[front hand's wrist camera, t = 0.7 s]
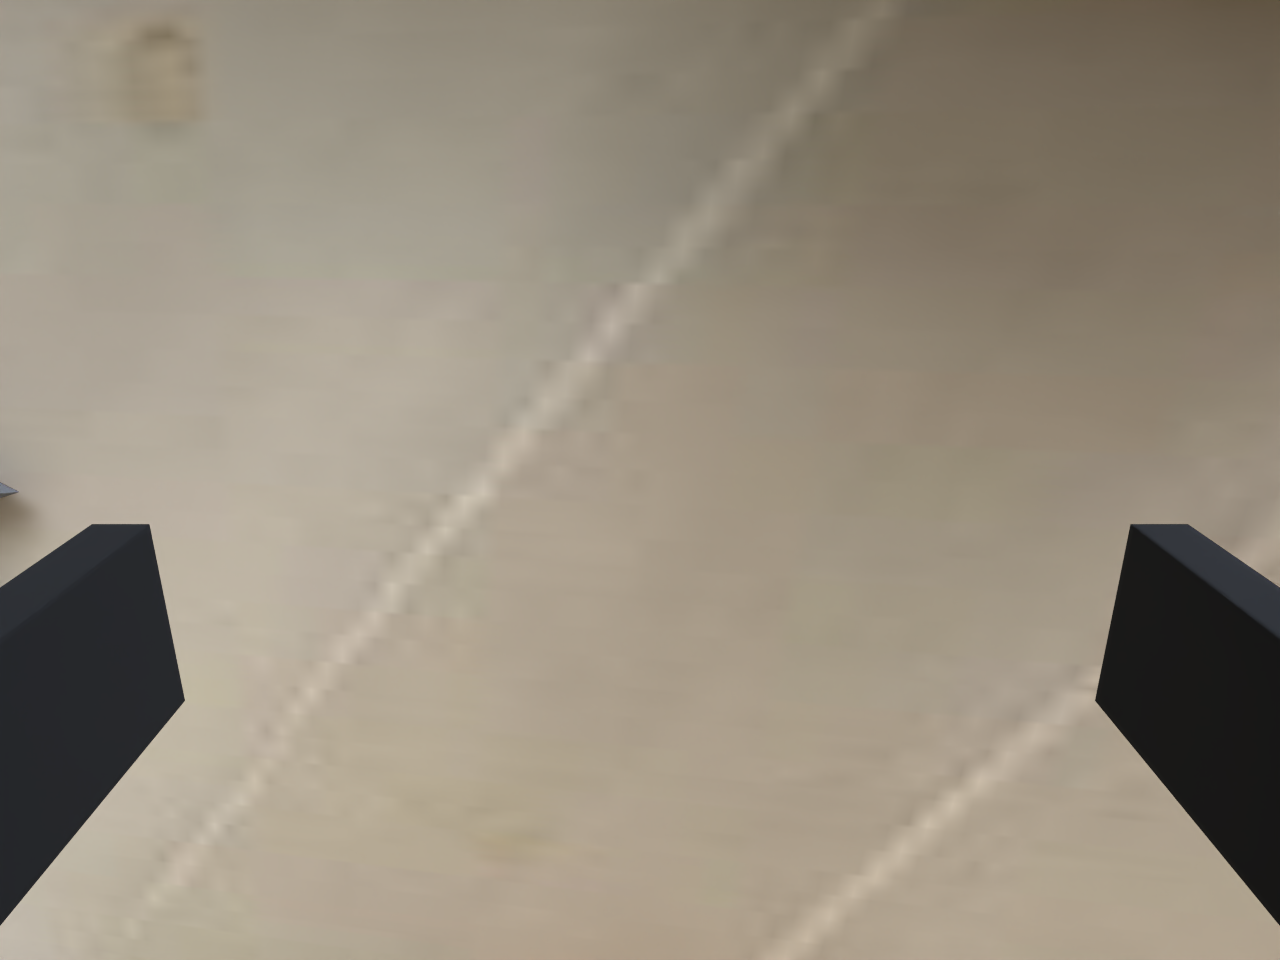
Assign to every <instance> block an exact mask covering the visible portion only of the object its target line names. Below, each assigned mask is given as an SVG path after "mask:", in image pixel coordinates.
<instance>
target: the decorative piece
mask: <svg viewBox="0 0 1280 960" xmlns="http://www.w3.org/2000/svg"><path fill="white" fill-rule="evenodd" d="M17 492H18V491H16V490H14V489H12V488H10V487H8V486H6V485H4V484H2V483H0V498H1V497H5V496H8V495H11V494H14V493H17Z"/></svg>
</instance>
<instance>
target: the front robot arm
mask: <svg viewBox="0 0 1280 960" xmlns="http://www.w3.org/2000/svg"><path fill="white" fill-rule="evenodd" d="M184 701H185V699H184V694H183V689H182V684H181V679H180V674H179V669H178V664H177V659H176V654H175V649H174V644H173V639H172V634H171V629H170V625H169V620H168V615H167V610H166V605H165V600H164V595H163V590H162V585H161V580H160V575H159V570H158V565H157V560H156V555H155V550H154V545H153V540H152V535H151V530H150V525H149V524H92V525H90V526H89V527H87V528H86V529H85V530H83V531H82V532H80V533H79V534H77V535H76V536H74V537H73V538H72V539H70V540H69V541H67V542H66V543H64V544H63V545H61V546H60V547H58V548H57V549H56V550H54V551H53V552H51V553H50V554H48V555H47V556H45V557H44V558H43V559H41V560H40V561H38V562H37V563H35V564H34V565H32V566H31V567H29V568H28V569H27V570H25V571H24V572H22V573H21V574H19V575H18V576H16V577H15V578H14V579H12V580H11V581H9V582H8V583H6V584H5V585H3V586H2V587H1V588H0V925H1V924H2V923H3V922H4V920H5V919H6V918H7V917H8V915H9V914H10V913H11V912H12V911H13V909H14V908H15V907H16V906H17V904H18V903H19V902H20V901H21V900H22V898H23V897H24V896H25V895H26V894H27V892H28V891H29V890H30V889H31V887H32V886H33V885H34V884H35V883H36V881H37V880H38V879H39V878H40V876H41V875H42V874H43V873H44V872H45V870H46V869H47V868H48V867H49V866H50V864H51V863H52V862H53V861H54V859H55V858H56V857H57V856H58V855H59V853H60V852H61V851H62V850H63V848H64V847H65V846H66V845H67V844H68V842H69V841H70V840H71V839H72V837H73V836H74V835H75V834H76V833H77V831H78V830H79V829H80V828H81V827H82V825H83V824H84V823H85V822H86V820H87V819H88V818H89V817H90V816H91V814H92V813H93V812H94V811H95V809H96V808H97V807H98V806H99V805H100V803H101V802H102V801H103V800H104V799H105V797H106V796H107V795H108V794H109V792H110V791H111V790H112V789H113V788H114V786H115V785H116V784H117V783H118V781H119V780H120V779H121V778H122V777H123V775H124V774H125V773H126V772H127V770H128V769H129V768H130V767H131V766H132V764H133V763H134V762H135V761H136V760H137V758H138V757H139V756H140V755H141V753H142V752H143V751H144V750H145V749H146V747H147V746H148V745H149V744H150V742H151V741H152V740H153V739H154V738H155V736H156V735H157V734H158V733H159V731H160V730H161V729H162V728H163V727H164V725H165V724H166V723H167V722H168V721H169V719H170V718H171V717H172V716H173V714H174V713H175V712H176V711H177V710H178V708H179V707H180V706H181V705H182V703H183V702H184ZM1095 701H1096V702H1097V703H1098V705H1099V706H1100V707H1101V708H1102V710H1103V711H1104V712H1105V713H1106V714H1107V716H1108V717H1109V718H1110V719H1111V721H1112V722H1113V723H1114V724H1115V725H1116V727H1117V728H1118V729H1119V730H1120V732H1121V733H1122V734H1123V735H1124V736H1125V738H1126V739H1127V740H1128V741H1129V742H1130V744H1131V745H1132V746H1133V747H1134V749H1135V750H1136V751H1137V752H1138V753H1139V755H1140V756H1141V757H1142V758H1143V760H1144V761H1145V762H1146V763H1147V764H1148V766H1149V767H1150V768H1151V769H1152V770H1153V772H1154V773H1155V774H1156V775H1157V777H1158V778H1159V779H1160V780H1161V781H1162V783H1163V784H1164V785H1165V786H1166V788H1167V789H1168V790H1169V791H1170V792H1171V794H1172V795H1173V796H1174V797H1175V799H1176V800H1177V801H1178V802H1179V803H1180V805H1181V806H1182V807H1183V808H1184V809H1185V811H1186V812H1187V813H1188V814H1189V816H1190V817H1191V818H1192V819H1193V820H1194V822H1195V823H1196V824H1197V825H1198V827H1199V828H1200V829H1201V830H1202V831H1203V833H1204V834H1205V835H1206V836H1207V837H1208V839H1209V840H1210V841H1211V842H1212V844H1213V845H1214V846H1215V847H1216V848H1217V850H1218V851H1219V852H1220V853H1221V855H1222V856H1223V857H1224V858H1225V859H1226V861H1227V862H1228V863H1229V864H1230V866H1231V867H1232V868H1233V869H1234V870H1235V872H1236V873H1237V874H1238V875H1239V876H1240V878H1241V879H1242V880H1243V881H1244V883H1245V884H1246V885H1247V886H1248V887H1249V889H1250V890H1251V891H1252V892H1253V894H1254V895H1255V896H1256V897H1257V898H1258V900H1259V901H1260V902H1261V903H1262V904H1263V906H1264V907H1265V908H1266V909H1267V911H1268V912H1269V913H1270V914H1271V915H1272V917H1273V918H1274V919H1275V920H1276V922H1277V923H1278V924H1279V925H1280V588H1279V587H1278V586H1277V585H1275V584H1274V583H1272V582H1271V581H1269V580H1268V579H1266V578H1265V577H1264V576H1262V575H1261V574H1259V573H1258V572H1256V571H1255V570H1253V569H1252V568H1251V567H1249V566H1248V565H1246V564H1245V563H1243V562H1242V561H1240V560H1239V559H1237V558H1236V557H1235V556H1233V555H1232V554H1230V553H1229V552H1227V551H1226V550H1224V549H1223V548H1222V547H1220V546H1219V545H1217V544H1216V543H1214V542H1213V541H1211V540H1210V539H1208V538H1207V537H1206V536H1204V535H1203V534H1201V533H1200V532H1198V531H1197V530H1195V529H1194V528H1193V527H1191V526H1190V525H1188V524H1131V525H1130V530H1129V535H1128V540H1127V545H1126V550H1125V555H1124V560H1123V565H1122V570H1121V575H1120V580H1119V585H1118V590H1117V595H1116V600H1115V605H1114V610H1113V615H1112V620H1111V624H1110V629H1109V634H1108V639H1107V644H1106V649H1105V654H1104V659H1103V664H1102V669H1101V674H1100V679H1099V684H1098V689H1097V694H1096V699H1095Z"/></svg>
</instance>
